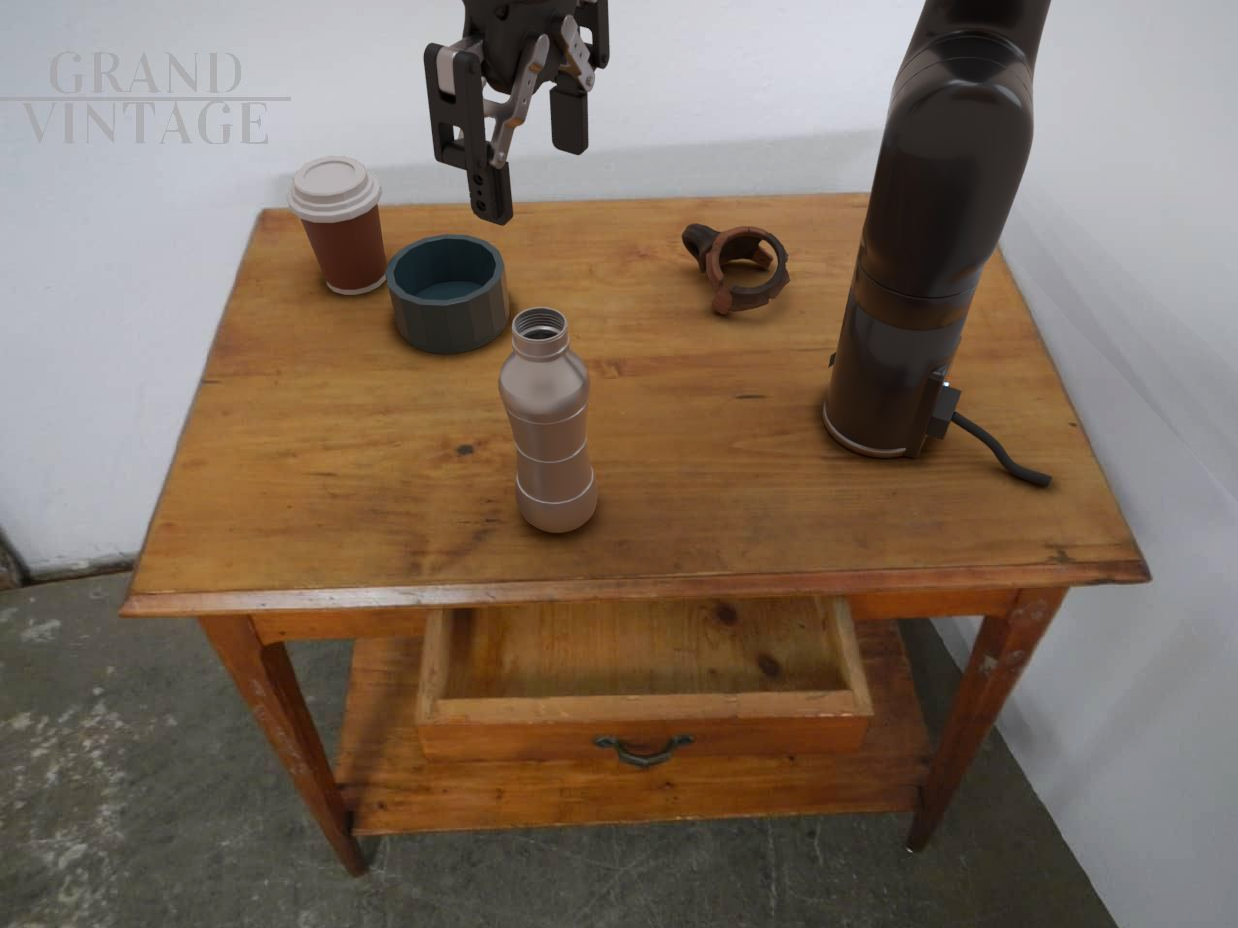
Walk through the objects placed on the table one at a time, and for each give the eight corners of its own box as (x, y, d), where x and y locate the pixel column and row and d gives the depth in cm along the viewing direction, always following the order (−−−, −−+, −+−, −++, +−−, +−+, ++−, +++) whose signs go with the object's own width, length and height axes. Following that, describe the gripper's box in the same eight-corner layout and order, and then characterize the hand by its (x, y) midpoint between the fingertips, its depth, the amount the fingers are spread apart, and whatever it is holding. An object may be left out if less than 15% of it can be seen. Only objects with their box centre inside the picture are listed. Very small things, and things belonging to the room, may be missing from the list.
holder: (530, 301, 96) (525, 252, 91) (469, 367, 89) (460, 318, 85) (439, 271, 99) (430, 223, 95) (374, 333, 93) (361, 284, 88)
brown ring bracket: (797, 273, 99) (812, 240, 91) (754, 348, 97) (765, 321, 89) (697, 221, 100) (703, 183, 92) (653, 294, 99) (656, 262, 91)
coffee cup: (297, 296, 97) (263, 194, 88) (335, 245, 102) (307, 144, 93) (379, 308, 95) (353, 206, 86) (413, 256, 101) (392, 155, 92)
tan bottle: (589, 549, 75) (578, 362, 60) (508, 536, 76) (476, 349, 61) (606, 488, 79) (600, 299, 64) (529, 477, 80) (504, 288, 65)
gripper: (495, -65, 38) (524, 266, 50) (654, -159, 46) (646, 144, 58) (348, -97, 40) (409, 227, 52) (525, -181, 48) (542, 114, 60)
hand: (534, 183), depth 55 cm, fingers open, 8 cm apart
